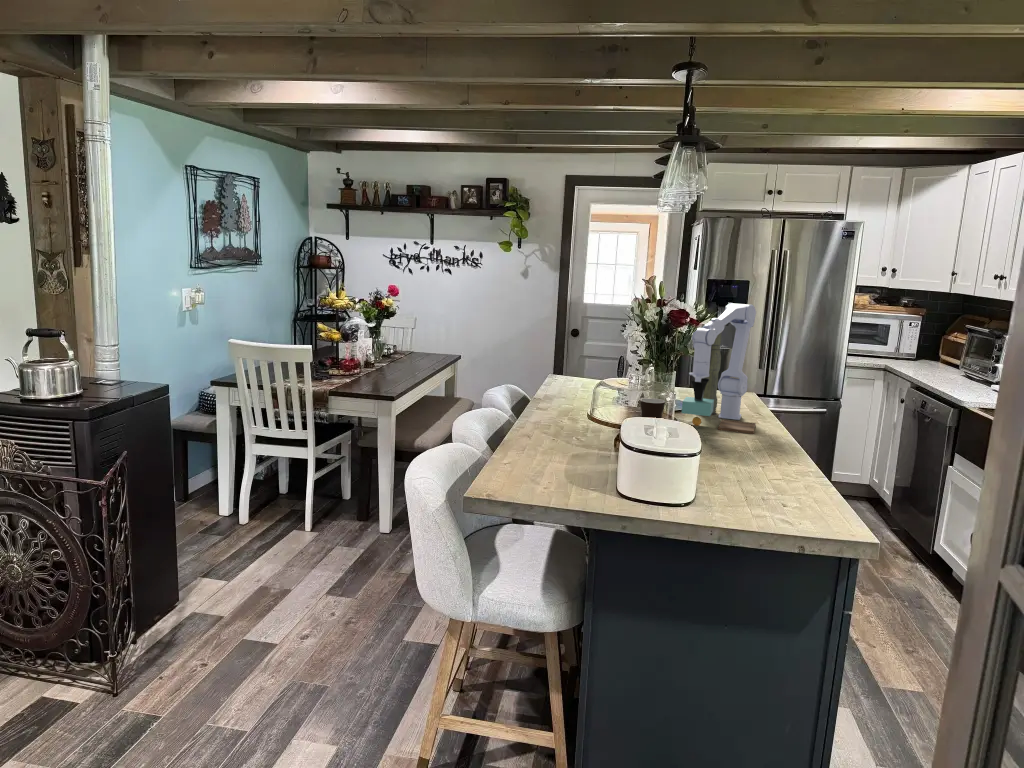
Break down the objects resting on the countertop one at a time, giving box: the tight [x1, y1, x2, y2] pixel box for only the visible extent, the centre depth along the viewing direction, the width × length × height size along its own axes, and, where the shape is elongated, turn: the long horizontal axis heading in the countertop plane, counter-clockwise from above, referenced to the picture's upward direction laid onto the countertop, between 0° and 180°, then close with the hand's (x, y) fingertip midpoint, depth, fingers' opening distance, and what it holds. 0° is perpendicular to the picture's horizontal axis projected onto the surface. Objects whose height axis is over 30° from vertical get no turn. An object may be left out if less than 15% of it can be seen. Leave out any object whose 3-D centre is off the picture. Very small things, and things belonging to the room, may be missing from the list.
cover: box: [681, 391, 714, 417], centre depth 249 cm, size 10×10×8 cm
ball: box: [691, 416, 702, 427], centre depth 250 cm, size 3×3×3 cm
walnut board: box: [718, 418, 757, 435], centre depth 249 cm, size 14×12×1 cm
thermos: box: [703, 332, 722, 415], centre depth 271 cm, size 9×12×35 cm
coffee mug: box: [639, 397, 666, 418], centre depth 245 cm, size 12×9×10 cm
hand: (698, 398), depth 249 cm, fingers closed on cover, 3 cm apart
